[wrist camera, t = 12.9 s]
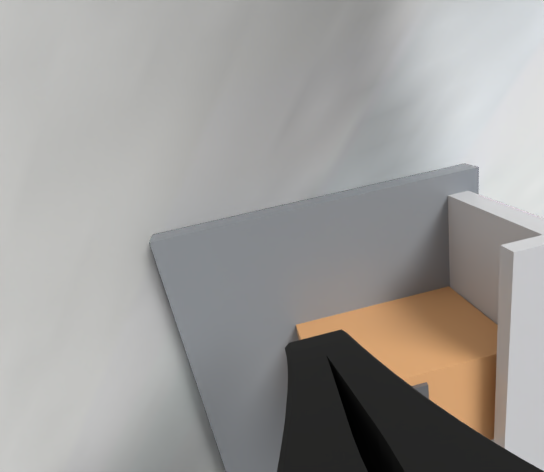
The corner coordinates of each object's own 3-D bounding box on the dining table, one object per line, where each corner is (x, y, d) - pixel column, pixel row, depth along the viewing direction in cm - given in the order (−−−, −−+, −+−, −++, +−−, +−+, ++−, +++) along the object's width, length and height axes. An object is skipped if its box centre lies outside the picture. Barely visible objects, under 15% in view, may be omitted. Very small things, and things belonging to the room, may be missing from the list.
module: (448, 286, 19) (527, 348, 14) (450, 357, 21) (521, 434, 16) (295, 324, 19) (324, 403, 14) (309, 394, 20) (339, 486, 16)
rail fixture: (464, 163, 18) (606, 200, 12) (466, 478, 26) (550, 604, 20) (152, 234, 17) (115, 318, 11) (253, 540, 25) (267, 695, 19)
